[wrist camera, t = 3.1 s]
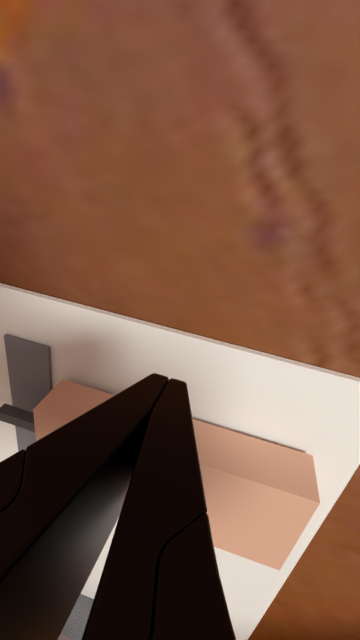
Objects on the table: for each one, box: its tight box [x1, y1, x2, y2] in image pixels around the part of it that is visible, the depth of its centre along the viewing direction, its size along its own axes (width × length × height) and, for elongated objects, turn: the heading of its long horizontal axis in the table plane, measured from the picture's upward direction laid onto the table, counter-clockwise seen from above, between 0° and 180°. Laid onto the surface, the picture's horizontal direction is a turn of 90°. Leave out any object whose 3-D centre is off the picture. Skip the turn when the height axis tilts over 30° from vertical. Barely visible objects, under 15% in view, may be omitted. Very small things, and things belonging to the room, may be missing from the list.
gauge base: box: [0, 283, 360, 640], centre depth 19 cm, size 19×31×3 cm, turn 171°
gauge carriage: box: [0, 379, 320, 571], centre depth 15 cm, size 15×5×2 cm, turn 81°
